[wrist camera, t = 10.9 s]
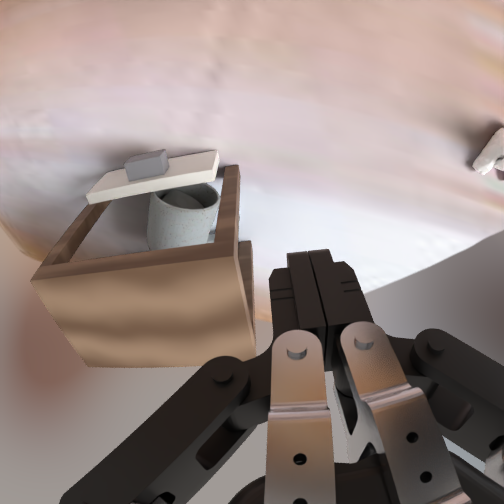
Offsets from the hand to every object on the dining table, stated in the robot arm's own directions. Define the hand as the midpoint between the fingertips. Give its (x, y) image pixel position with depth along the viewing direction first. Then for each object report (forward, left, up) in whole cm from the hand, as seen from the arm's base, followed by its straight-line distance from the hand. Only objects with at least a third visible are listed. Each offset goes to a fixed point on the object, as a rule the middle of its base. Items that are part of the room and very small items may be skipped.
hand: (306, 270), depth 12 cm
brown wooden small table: (+11, -13, -27) cm, 31 cm away
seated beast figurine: (+5, +33, -27) cm, 43 cm away
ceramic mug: (+10, -10, -27) cm, 30 cm away
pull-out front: (+2, -13, -26) cm, 29 cm away
